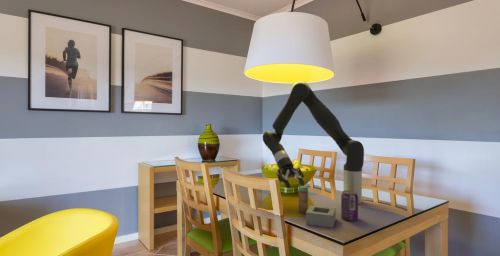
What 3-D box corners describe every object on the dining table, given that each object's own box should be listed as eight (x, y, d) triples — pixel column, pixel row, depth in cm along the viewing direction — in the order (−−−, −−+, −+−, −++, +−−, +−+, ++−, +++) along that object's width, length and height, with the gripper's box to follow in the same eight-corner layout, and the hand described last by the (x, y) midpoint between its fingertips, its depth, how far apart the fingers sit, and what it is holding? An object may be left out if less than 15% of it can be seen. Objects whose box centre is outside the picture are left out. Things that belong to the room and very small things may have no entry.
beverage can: (360, 218, 125) (360, 191, 125) (354, 222, 120) (354, 195, 120) (345, 215, 130) (345, 189, 130) (338, 219, 125) (338, 192, 124)
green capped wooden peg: (299, 209, 138) (299, 185, 137) (308, 211, 136) (308, 186, 136) (297, 212, 134) (297, 187, 133) (306, 213, 132) (306, 188, 132)
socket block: (310, 215, 129) (310, 205, 129) (335, 219, 125) (335, 207, 124) (305, 224, 119) (305, 212, 119) (332, 227, 114) (332, 215, 114)
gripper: (274, 157, 143) (287, 184, 134) (297, 155, 150) (311, 181, 140) (269, 166, 148) (281, 192, 138) (291, 164, 155) (304, 189, 145)
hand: (296, 186), depth 139 cm, fingers open, 8 cm apart
